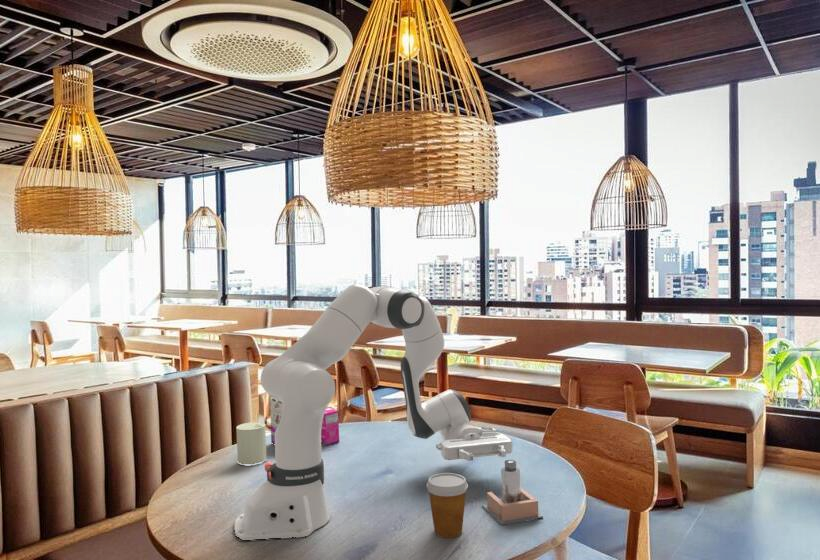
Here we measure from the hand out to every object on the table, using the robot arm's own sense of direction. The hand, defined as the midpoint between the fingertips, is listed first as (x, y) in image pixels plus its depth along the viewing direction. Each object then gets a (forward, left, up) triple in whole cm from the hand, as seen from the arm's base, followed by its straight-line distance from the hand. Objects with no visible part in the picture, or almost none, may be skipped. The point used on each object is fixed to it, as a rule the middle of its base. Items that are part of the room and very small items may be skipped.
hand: (487, 456), depth 150 cm
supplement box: (-34, +61, -10) cm, 70 cm away
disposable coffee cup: (-17, -17, -10) cm, 26 cm away
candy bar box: (-49, +62, -10) cm, 80 cm away
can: (-60, +50, -10) cm, 79 cm away
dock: (+1, -13, -10) cm, 16 cm away
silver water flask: (+1, -13, -10) cm, 16 cm away
